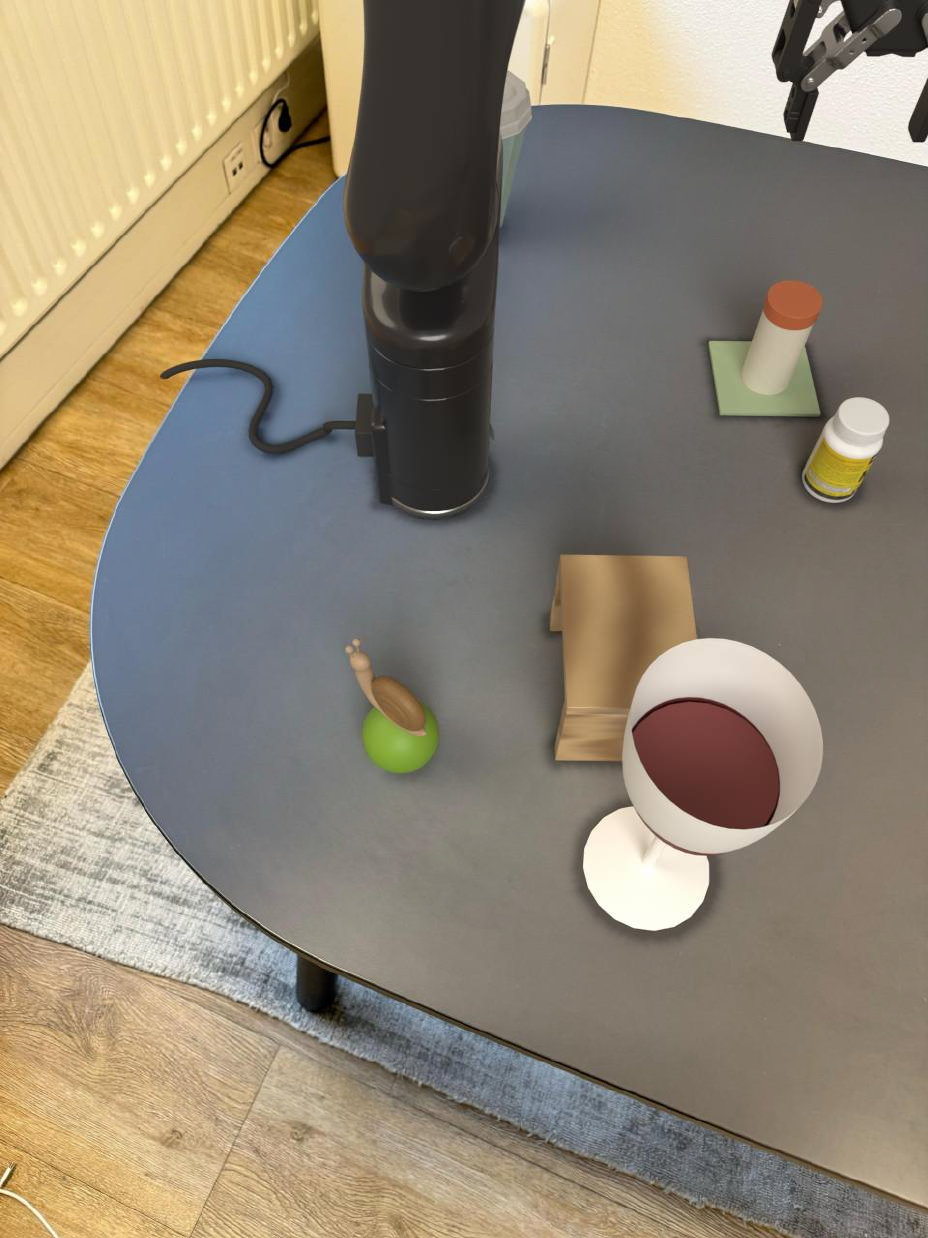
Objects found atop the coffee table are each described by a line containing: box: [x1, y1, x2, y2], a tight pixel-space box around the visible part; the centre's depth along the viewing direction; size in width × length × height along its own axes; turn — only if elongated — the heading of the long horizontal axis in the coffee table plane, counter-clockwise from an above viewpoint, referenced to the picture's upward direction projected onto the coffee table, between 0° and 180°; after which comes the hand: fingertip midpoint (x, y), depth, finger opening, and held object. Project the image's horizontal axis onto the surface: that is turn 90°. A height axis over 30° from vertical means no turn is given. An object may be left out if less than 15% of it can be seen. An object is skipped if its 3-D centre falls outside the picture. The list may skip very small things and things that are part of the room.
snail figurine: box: [344, 637, 440, 774], centre depth 66 cm, size 5×6×12 cm
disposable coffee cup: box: [500, 70, 533, 228], centre depth 94 cm, size 11×11×15 cm
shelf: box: [549, 554, 698, 762], centre depth 69 cm, size 9×12×9 cm
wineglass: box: [582, 637, 824, 932], centre depth 57 cm, size 9×10×23 cm
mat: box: [707, 340, 821, 418], centre depth 89 cm, size 9×9×1 cm
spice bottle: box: [741, 279, 823, 395], centre depth 85 cm, size 5×5×9 cm
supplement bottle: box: [801, 396, 890, 504], centre depth 80 cm, size 5×5×8 cm
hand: (854, 135), depth 69 cm, fingers open, 8 cm apart
